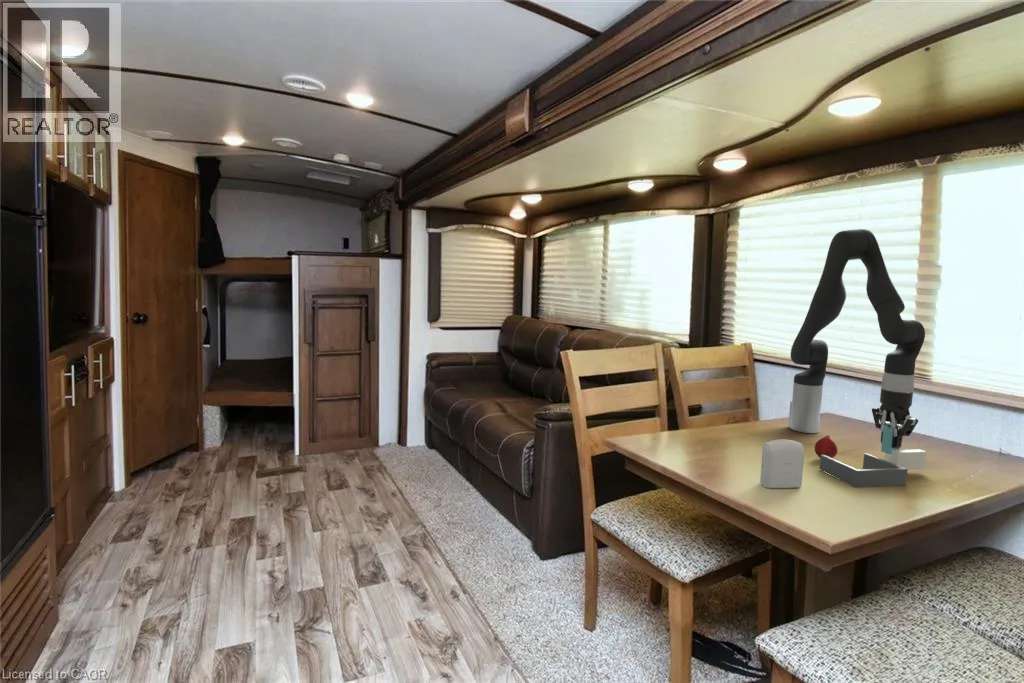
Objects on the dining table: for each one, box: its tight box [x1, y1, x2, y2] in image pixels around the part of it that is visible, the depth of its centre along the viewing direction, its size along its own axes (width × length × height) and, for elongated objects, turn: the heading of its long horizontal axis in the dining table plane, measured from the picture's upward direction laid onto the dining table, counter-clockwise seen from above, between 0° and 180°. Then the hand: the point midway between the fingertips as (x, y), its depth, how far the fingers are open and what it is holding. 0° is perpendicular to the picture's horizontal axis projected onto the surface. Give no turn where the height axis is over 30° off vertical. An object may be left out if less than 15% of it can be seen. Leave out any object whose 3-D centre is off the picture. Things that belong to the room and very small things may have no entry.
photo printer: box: [759, 438, 805, 489], centre depth 136 cm, size 10×4×12 cm, turn 96°
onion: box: [814, 434, 838, 459], centre depth 157 cm, size 6×6×8 cm
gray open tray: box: [819, 452, 909, 488], centre depth 144 cm, size 13×15×4 cm
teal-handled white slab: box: [880, 426, 927, 470], centre depth 151 cm, size 8×9×10 cm
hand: (890, 446), depth 154 cm, fingers closed on teal-handled white slab, 3 cm apart
